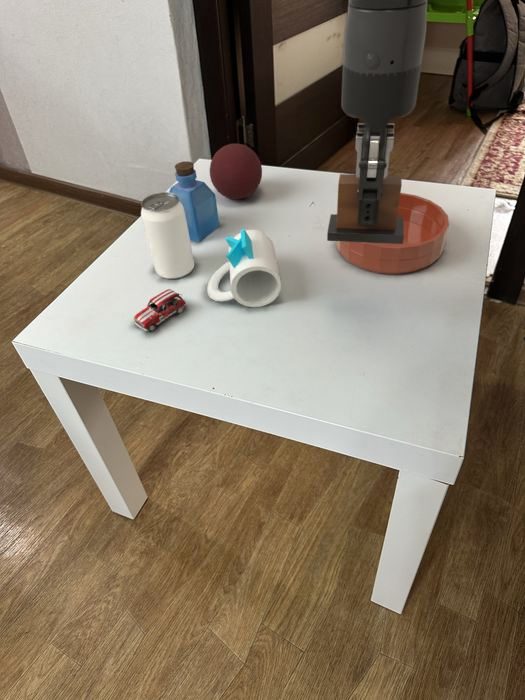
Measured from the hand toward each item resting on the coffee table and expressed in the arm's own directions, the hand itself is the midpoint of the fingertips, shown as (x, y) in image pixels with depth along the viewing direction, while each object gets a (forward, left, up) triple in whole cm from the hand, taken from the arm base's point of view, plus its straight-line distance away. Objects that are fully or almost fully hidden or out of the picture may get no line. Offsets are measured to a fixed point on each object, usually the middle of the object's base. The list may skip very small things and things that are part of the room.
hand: (367, 217), depth 60 cm
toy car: (+28, +4, -15) cm, 32 cm away
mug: (+18, -5, -15) cm, 24 cm away
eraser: (0, 0, -2) cm, 2 cm away
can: (+30, -8, -15) cm, 35 cm away
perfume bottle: (+30, -20, -15) cm, 39 cm away
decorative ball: (+25, -33, -15) cm, 44 cm away
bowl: (-4, -18, -15) cm, 24 cm away
